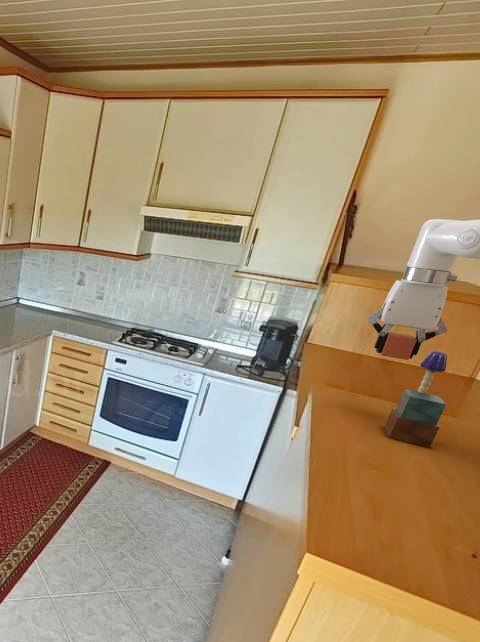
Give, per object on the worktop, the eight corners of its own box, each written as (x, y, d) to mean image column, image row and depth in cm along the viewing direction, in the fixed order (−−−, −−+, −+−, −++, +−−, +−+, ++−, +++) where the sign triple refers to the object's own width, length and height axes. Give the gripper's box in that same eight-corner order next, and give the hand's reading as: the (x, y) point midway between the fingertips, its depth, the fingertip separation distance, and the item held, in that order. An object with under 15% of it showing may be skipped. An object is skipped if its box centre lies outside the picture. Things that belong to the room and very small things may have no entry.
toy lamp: (426, 421, 120) (456, 357, 115) (403, 416, 122) (432, 353, 116) (417, 414, 125) (446, 352, 119) (395, 410, 126) (422, 348, 120)
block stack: (422, 437, 110) (441, 396, 107) (429, 448, 105) (450, 405, 101) (384, 427, 114) (401, 387, 110) (388, 437, 108) (407, 396, 104)
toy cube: (404, 356, 117) (412, 335, 115) (408, 360, 112) (417, 339, 111) (378, 351, 119) (386, 331, 117) (381, 355, 115) (389, 334, 113)
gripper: (469, 281, 108) (436, 359, 115) (375, 271, 117) (348, 344, 123) (480, 284, 102) (444, 366, 109) (379, 272, 110) (351, 349, 117)
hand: (393, 353), depth 116 cm, fingers closed on toy cube, 5 cm apart
